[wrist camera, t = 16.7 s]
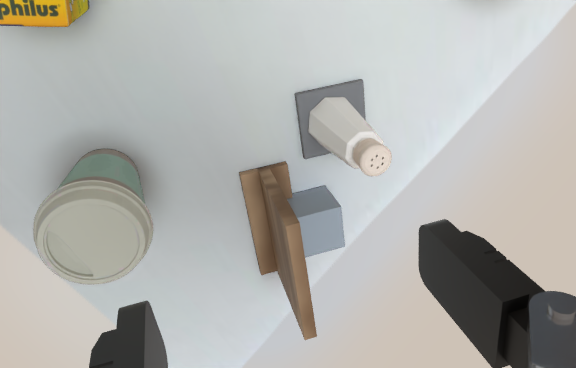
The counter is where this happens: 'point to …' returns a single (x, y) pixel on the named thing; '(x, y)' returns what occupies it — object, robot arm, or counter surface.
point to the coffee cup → (95, 220)
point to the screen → (279, 237)
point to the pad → (313, 97)
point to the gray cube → (318, 220)
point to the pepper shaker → (348, 136)
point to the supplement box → (41, 12)
